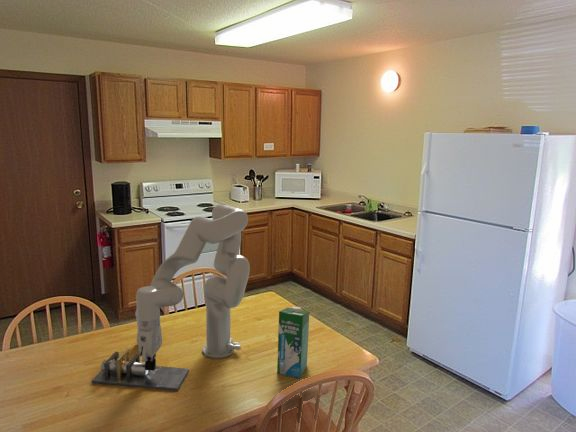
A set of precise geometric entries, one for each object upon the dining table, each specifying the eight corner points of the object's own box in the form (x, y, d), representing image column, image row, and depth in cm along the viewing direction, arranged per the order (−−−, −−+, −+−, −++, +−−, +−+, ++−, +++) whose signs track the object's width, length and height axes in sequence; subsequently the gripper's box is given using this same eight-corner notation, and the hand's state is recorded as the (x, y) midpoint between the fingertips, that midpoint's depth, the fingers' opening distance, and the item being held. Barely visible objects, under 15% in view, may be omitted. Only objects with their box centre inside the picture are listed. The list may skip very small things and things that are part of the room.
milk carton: (307, 365, 162) (309, 305, 157) (300, 378, 154) (302, 315, 148) (285, 361, 165) (287, 301, 160) (277, 373, 156) (278, 311, 151)
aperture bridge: (130, 367, 155) (129, 348, 154) (120, 379, 148) (119, 359, 146) (128, 366, 155) (127, 348, 154) (117, 379, 148) (116, 359, 146)
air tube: (149, 371, 153) (148, 360, 152) (144, 378, 149) (143, 367, 148) (107, 367, 154) (106, 356, 153) (101, 374, 150) (100, 363, 149)
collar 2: (140, 367, 155) (139, 353, 154) (130, 380, 147) (129, 365, 146) (136, 367, 155) (136, 353, 154) (126, 380, 147) (126, 365, 146)
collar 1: (119, 365, 156) (118, 351, 154) (108, 378, 148) (107, 363, 147) (116, 365, 156) (115, 351, 155) (105, 378, 148) (104, 363, 147)
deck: (189, 371, 156) (188, 368, 155) (177, 391, 144) (177, 388, 144) (109, 364, 158) (109, 361, 158) (91, 383, 147) (91, 380, 146)
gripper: (150, 332, 139) (152, 382, 142) (167, 313, 153) (168, 358, 157) (128, 331, 139) (131, 380, 143) (147, 311, 154) (149, 357, 158)
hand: (150, 369), depth 150 cm, fingers closed
